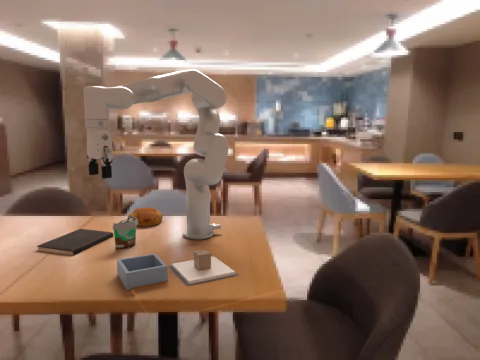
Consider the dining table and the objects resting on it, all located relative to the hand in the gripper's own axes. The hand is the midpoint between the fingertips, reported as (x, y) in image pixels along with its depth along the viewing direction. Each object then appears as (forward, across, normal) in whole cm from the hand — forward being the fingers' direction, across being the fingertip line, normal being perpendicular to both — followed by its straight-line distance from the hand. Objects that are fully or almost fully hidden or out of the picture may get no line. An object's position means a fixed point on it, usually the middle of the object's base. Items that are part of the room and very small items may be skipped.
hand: (100, 176), depth 129 cm
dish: (+28, -25, 0) cm, 38 cm away
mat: (+28, -34, -16) cm, 47 cm away
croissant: (+29, +28, -33) cm, 52 cm away
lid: (+28, -34, -16) cm, 47 cm away
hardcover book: (+29, +20, +1) cm, 35 cm away
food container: (+28, +4, -12) cm, 31 cm away
